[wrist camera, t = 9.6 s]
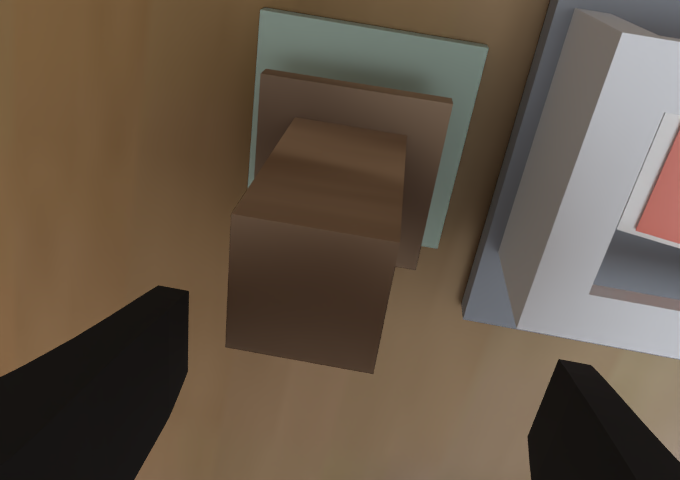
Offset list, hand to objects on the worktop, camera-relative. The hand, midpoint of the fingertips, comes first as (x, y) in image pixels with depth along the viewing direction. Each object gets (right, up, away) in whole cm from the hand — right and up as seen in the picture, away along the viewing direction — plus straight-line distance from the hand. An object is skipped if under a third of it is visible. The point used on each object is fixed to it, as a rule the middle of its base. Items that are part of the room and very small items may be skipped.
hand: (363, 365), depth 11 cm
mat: (0, +6, +8) cm, 10 cm away
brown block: (0, +6, +8) cm, 10 cm away
